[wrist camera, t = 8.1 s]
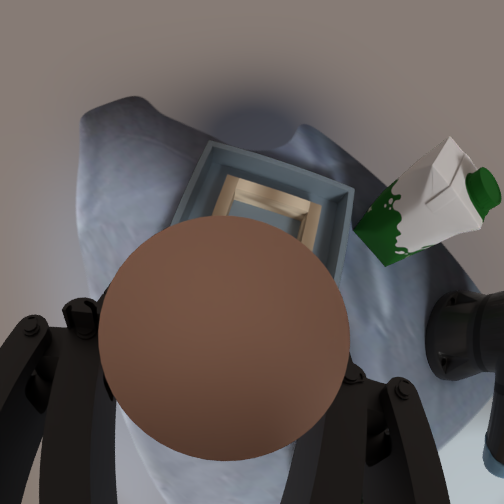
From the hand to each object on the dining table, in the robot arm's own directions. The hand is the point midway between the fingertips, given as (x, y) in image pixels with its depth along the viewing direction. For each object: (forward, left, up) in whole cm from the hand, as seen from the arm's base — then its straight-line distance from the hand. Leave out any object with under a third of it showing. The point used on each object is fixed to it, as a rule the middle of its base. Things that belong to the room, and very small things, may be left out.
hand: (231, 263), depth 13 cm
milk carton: (-19, -15, -19) cm, 31 cm away
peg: (0, +3, -4) cm, 5 cm away
